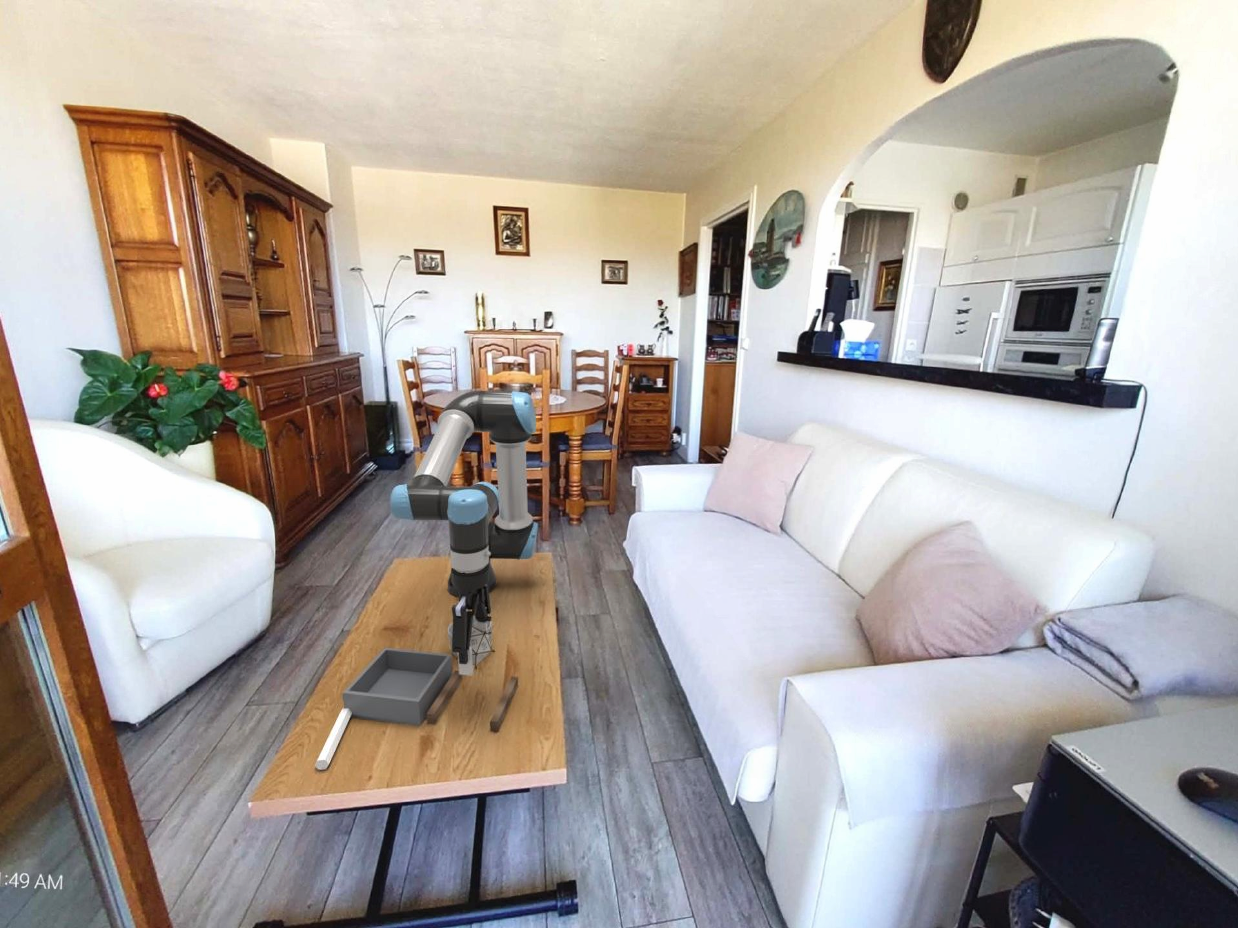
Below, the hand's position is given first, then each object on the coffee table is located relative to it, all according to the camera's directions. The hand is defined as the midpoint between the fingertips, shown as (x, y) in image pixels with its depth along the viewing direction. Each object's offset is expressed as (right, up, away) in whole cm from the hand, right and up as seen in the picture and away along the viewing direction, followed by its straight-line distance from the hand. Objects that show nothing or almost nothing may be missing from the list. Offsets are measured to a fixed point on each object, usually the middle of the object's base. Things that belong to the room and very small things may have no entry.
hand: (474, 660), depth 106 cm
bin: (-17, -9, +4) cm, 20 cm away
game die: (0, 0, 0) cm, 1 cm away
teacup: (-6, -6, +21) cm, 23 cm away
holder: (0, -11, +2) cm, 11 cm away
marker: (-25, -12, -8) cm, 29 cm away
